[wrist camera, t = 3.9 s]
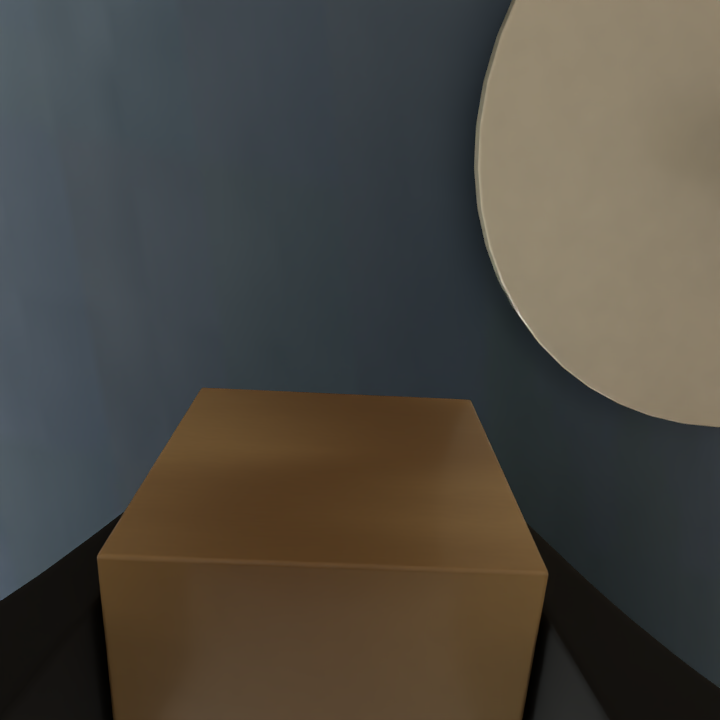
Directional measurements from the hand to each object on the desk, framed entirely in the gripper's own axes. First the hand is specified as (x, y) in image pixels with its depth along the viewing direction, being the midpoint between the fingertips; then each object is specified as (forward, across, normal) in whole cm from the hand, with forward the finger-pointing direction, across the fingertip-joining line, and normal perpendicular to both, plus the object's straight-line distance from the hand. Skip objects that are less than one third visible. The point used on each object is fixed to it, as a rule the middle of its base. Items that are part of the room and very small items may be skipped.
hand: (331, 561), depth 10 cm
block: (+1, 0, 0) cm, 1 cm away
